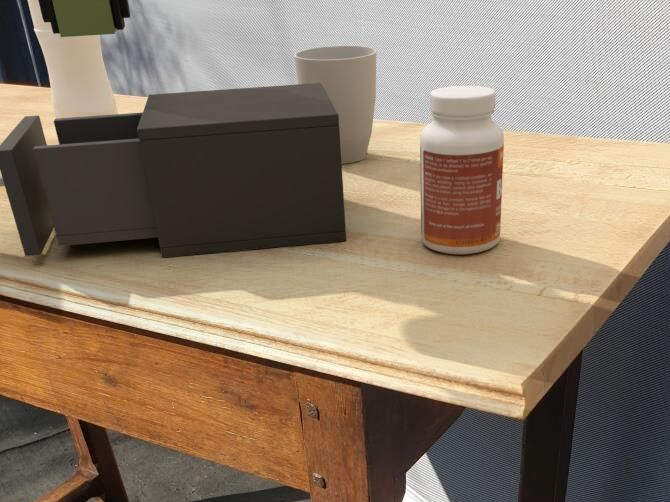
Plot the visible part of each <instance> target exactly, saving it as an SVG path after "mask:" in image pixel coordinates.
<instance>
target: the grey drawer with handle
mask: <svg viewBox="0 0 670 502" xmlns="http://www.w3.org/2000/svg"><path fill="white" fill-rule="evenodd" d="M142 114H143V112H131V113H118V114H114V115H100V116H86V117H72V118H58V119H56V118H54V119H53V124H54V128H55V133H56V137H57V141H58V144H47V140H46V136H45V132H44V129H43V125H42V121H41V120H42V119H41V117H40V115H28V116H27V115H26V116H24V117H23V118H22V119H21V120H20V121H19V122H18V123H17V125H16V126H15V127H13V129H12V130H11V132H10V133H9V134H8V135H7V136H6V137H5V139H4V140H3V141H2V142H1V143H0V187H4V188H5V191H6V195H7V198H8V202H9V205H10V209H11V212H12V216H13V219H14V222H15V227H16V230H17V232H18V236H19V240H20V243H21V246H22V249H23V254H24V256H25V257H30V256H40V255H42V254H43V251H44V250H45V248H46V246H47V243H48V241H49V240H50V237H51V235H52V233H53V232H55V236H56V240H57V244H58V246H59V247H65V246H76V245H87V244H99V243H111V242H120V241H122V242H123V241H132V240H133V241H134V240H144V239H155V238H156V239H158V235H157V230H156V225H155V220H154V215H153V210H152V205H151V199H150V194H149V189H148V184H147V179H146V174H145V169H144V164H143V158H142V153H141V148H140V143H139V138H138V133H137V128H138V125H139V122H140V119H141V117H142ZM53 230H54V231H53Z"/></svg>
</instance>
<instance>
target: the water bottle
mask: <svg viewBox="0 0 670 502" xmlns="http://www.w3.org/2000/svg"><path fill="white" fill-rule="evenodd" d="M27 4H28V7H29V11H30V17H31V20H32V24H33V31H34V33H35V36H36V38H37V40H38V42H39V45H40V49H41V51H42V54H43V58H44V61H45V65H46V68H47V74H48V80H49V85H50V95H51V106H52V110H53V113H54V117H55V119H58V118H72V117H86V116H100V115H114V114H119V112H118V105H117V99H116V96H115V93H114V92H113V89H112V87H111V83H110V80H109V77H108V74H107V69H106V66H105V62H104V56H103V51H102V50H103V49H102V42H101V35H89V36H72V37H61V36H60V33H59V34H53V31H52V27H51V23H50V22H46V23H44V21H43V18H42V14H41V9H40V5H39V1H38V0H27Z"/></svg>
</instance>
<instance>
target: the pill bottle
mask: <svg viewBox="0 0 670 502" xmlns="http://www.w3.org/2000/svg"><path fill="white" fill-rule="evenodd" d="M496 95H497V93H496V90H495V89H494V88H492V87H488V86H482V85H451V86H444V87H439V88H435V89H433V90H431V91H430V93H429V111H430V112H429V113H430V115H431V116H432V117H433V120H432V121H431V122H430V123H428V124H427V125H425V127H424V128H423V130H422V132H421V134H420V139H419V153H420V154H419V158H420V159H419V161H420V163H419V165H420V171H419V173H420V176H419V177H420V229H421V230H420V233H421V235H420V236H421V241H422V243H423V244H424V246H426V247H427V248H428V249H431V251H435V252H438V253H442V254H448V255H458V256H459V255H460V256H461V255H472V254H478V253H482V252H485V251H488V250H490V249H492V248H494V247H495V246H496V245H497V244H498V243H499V241H500V238H501V229H502V228H501V221H502V198H503V197H502V196H503V173H504V171H503V169H504V150H505V149H504V147H505V135H504V132H503V129H502V128H501V127H500V125H499V124H498V123H497V122H495V121H493V119H492V115H493V114H494V113H495V110H496Z"/></svg>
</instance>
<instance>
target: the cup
mask: <svg viewBox="0 0 670 502" xmlns="http://www.w3.org/2000/svg"><path fill="white" fill-rule="evenodd" d="M293 56H294V58H293V59H294V63H295V71H296V79H297V84H312V83H321V84H322V86H323V87H324V89H325V91H326V93H327V95H328V97H329V98H330V100H331V102H332V104H333V106H334V108H335V109H336V111H337V113H338V115H339V130H340V146H341V162H342V165H344V164H345V165H347V164H352V163H357V162H360V161H363V160H364V159H365V158H366V157H367V153H368V149H369V145H370V141H371V136H372V132H373V126H374V117H375V115H374V114H375V106H376V97H377V49H375V48H373V47H369V46H361V45H331V46H321V47H313V48H308V49H303V50H299V51H297V52H295V53H294V55H293Z"/></svg>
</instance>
